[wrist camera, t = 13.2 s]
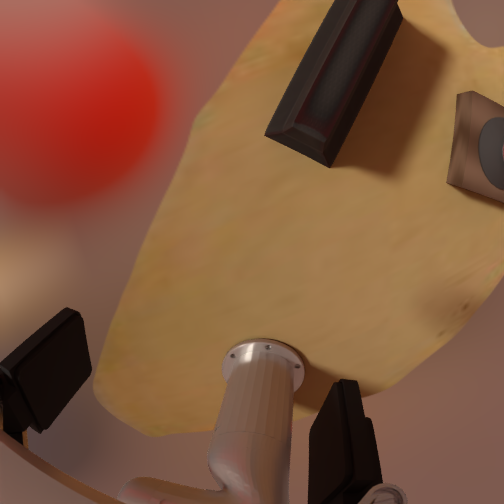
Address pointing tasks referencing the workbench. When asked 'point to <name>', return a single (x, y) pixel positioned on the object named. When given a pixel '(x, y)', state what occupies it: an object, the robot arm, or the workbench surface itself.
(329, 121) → the barrier
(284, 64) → the workbench surface
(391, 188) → the workbench surface
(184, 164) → the workbench surface
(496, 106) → the walnut plinth
